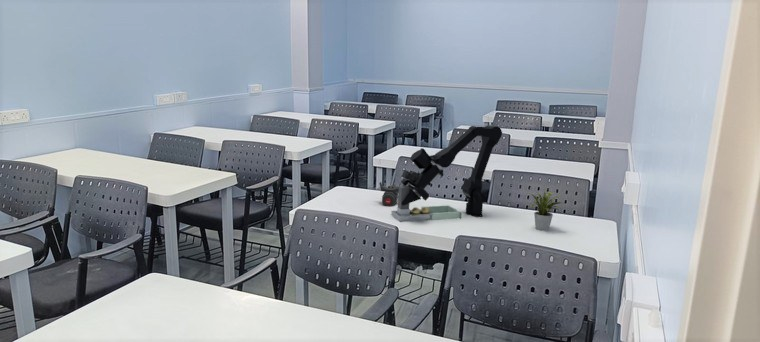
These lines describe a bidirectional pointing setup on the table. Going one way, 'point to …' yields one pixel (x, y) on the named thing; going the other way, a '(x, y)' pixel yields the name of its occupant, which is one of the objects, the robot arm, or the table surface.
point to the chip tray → (444, 212)
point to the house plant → (544, 211)
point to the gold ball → (425, 210)
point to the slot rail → (413, 216)
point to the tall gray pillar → (402, 195)
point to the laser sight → (389, 194)
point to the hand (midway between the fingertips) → (400, 203)
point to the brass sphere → (415, 211)
